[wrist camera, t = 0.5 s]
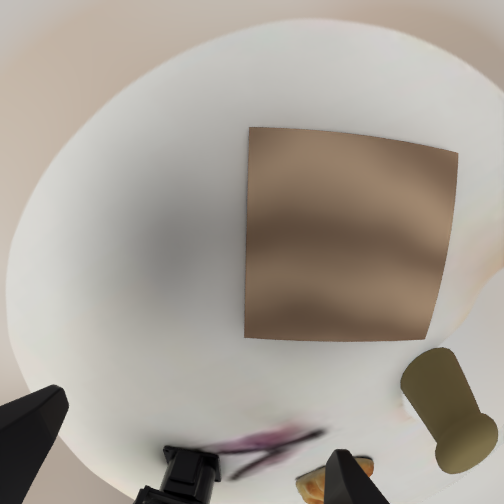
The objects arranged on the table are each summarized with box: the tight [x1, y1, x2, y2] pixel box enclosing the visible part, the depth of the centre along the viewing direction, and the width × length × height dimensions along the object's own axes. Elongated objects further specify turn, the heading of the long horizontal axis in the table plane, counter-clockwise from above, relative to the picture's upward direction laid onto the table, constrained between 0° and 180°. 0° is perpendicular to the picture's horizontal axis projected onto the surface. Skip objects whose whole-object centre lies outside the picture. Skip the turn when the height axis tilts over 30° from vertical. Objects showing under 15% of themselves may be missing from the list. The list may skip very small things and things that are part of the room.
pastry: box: [296, 458, 374, 504], centre depth 26 cm, size 9×7×4 cm
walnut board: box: [244, 127, 458, 342], centre depth 19 cm, size 14×14×2 cm
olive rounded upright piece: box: [401, 347, 498, 474], centre depth 17 cm, size 6×6×11 cm
